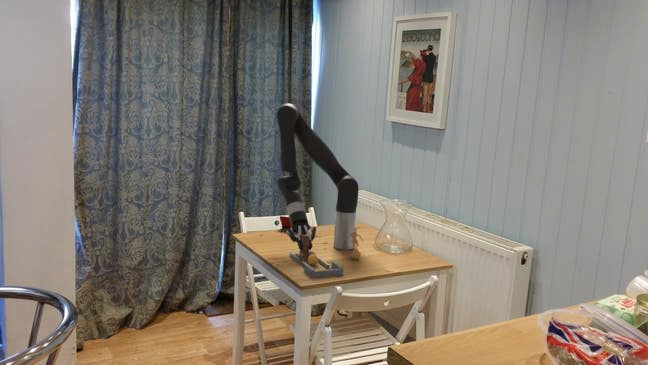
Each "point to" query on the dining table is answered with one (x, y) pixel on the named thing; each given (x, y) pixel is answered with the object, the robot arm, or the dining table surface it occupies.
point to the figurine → (355, 254)
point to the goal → (324, 271)
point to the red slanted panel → (285, 222)
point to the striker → (305, 248)
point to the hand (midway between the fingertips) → (306, 249)
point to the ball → (313, 259)
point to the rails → (305, 263)
